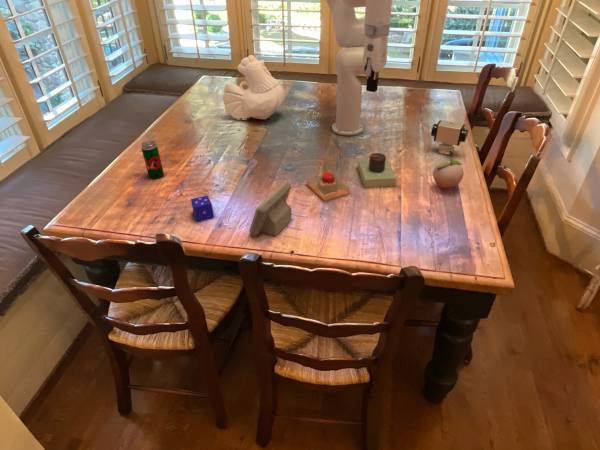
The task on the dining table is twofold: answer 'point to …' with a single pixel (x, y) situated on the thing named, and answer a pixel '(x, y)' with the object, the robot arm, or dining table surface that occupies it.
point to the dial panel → (376, 175)
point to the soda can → (152, 159)
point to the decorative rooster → (253, 92)
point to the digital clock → (272, 212)
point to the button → (328, 177)
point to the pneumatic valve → (448, 135)
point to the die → (202, 208)
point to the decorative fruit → (448, 174)
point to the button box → (328, 187)
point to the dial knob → (377, 162)
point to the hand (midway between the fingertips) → (371, 90)
